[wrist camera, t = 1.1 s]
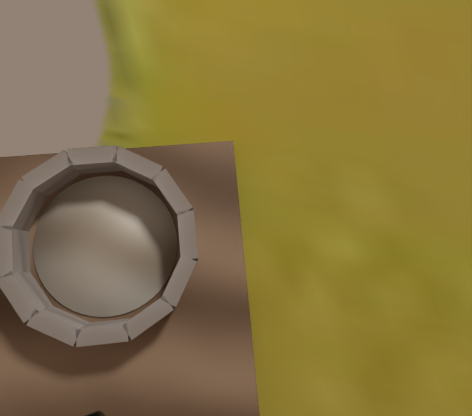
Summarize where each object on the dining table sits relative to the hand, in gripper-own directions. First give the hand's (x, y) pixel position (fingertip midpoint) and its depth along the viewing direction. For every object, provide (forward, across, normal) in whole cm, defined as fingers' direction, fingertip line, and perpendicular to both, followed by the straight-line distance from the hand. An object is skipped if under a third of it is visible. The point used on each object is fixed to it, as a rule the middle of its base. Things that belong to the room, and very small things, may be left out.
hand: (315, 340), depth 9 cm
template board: (+12, +6, +8) cm, 16 cm away
